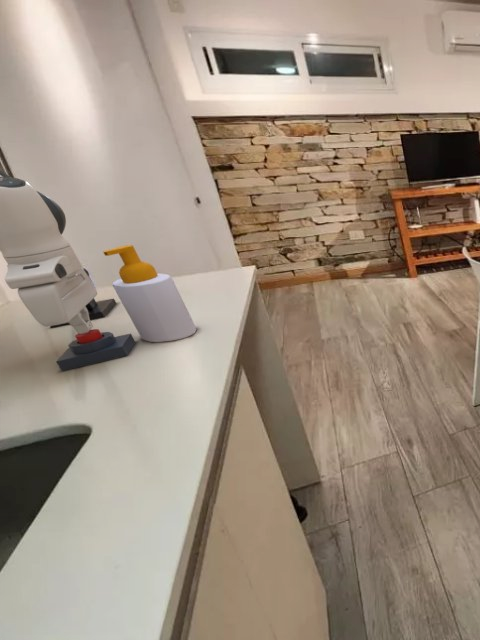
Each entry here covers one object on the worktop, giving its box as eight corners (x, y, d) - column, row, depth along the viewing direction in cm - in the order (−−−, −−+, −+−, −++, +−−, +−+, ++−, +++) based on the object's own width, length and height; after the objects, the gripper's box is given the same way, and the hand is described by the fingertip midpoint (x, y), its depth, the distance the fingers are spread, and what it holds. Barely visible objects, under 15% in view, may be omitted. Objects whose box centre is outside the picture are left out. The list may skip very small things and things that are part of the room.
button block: (61, 371, 94) (50, 353, 92) (75, 356, 100) (64, 339, 98) (127, 355, 98) (117, 338, 96) (135, 342, 104) (126, 325, 103)
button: (77, 346, 95) (72, 338, 94) (82, 339, 98) (78, 332, 97) (100, 341, 97) (96, 333, 96) (105, 334, 100) (101, 327, 99)
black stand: (67, 313, 125) (32, 255, 118) (116, 303, 130) (85, 247, 123) (50, 328, 116) (11, 266, 109) (104, 317, 120) (69, 257, 113)
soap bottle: (129, 340, 106) (80, 251, 97) (168, 324, 113) (125, 241, 104) (170, 344, 102) (122, 253, 93) (208, 328, 109) (167, 241, 100)
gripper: (44, 257, 97) (81, 318, 103) (-1, 283, 81) (46, 353, 87) (85, 251, 100) (119, 311, 106) (49, 274, 84) (91, 343, 90)
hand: (86, 330), depth 96 cm, fingers closed
